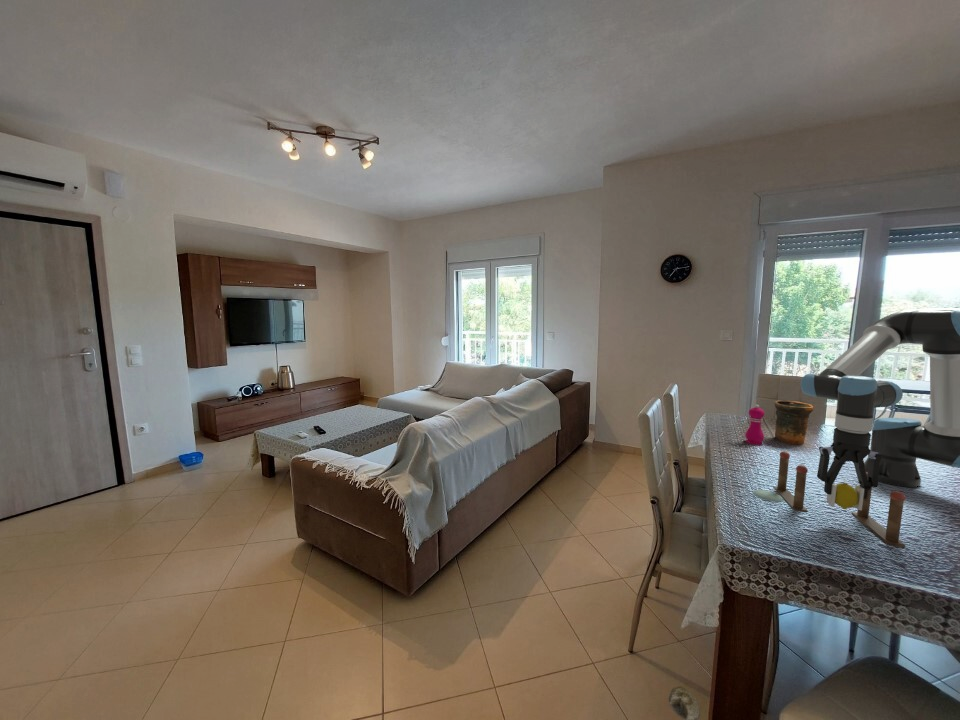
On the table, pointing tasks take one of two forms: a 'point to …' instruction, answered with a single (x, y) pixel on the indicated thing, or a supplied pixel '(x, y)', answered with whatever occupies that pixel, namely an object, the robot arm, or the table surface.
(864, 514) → the gate course
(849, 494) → the lemon
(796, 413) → the vessel
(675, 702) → the cake
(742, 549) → the table surface
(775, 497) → the pad
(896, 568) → the table surface
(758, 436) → the pepper mill
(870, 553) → the table surface
